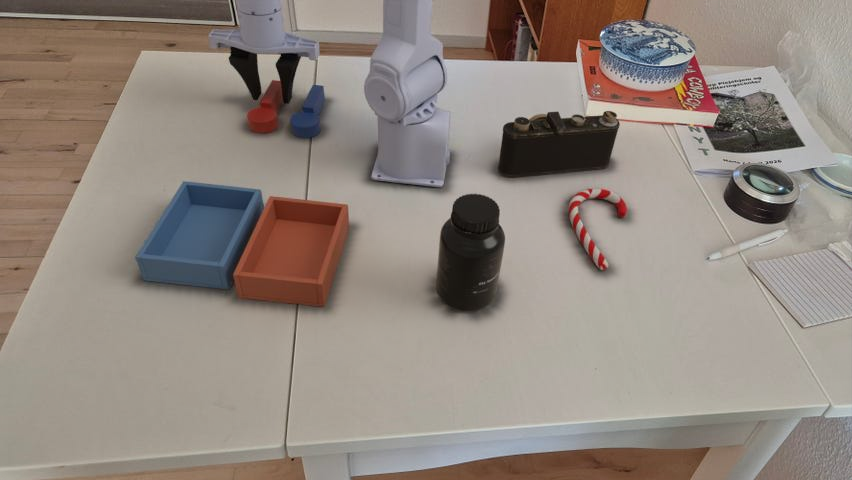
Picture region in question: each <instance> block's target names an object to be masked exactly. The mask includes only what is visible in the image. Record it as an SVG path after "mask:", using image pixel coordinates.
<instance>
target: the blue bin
mask: <svg viewBox="0 0 852 480" xmlns="http://www.w3.org/2000/svg"><path fill="white" fill-rule="evenodd" d="M264 207H265V205H264V199H263V193H262V189H260V188H259V189H258V188H250V187H241V186H232V185H224V184H215V183H205V182H195V181H186V180H183V181H182V183H181V184H180V185H179V187H178V188H177V190H176V192H175V194H174V195H173V196H172V198H171V200H170V201H169V202H168V204H167V206H166V208H165V209H164V211H163V212H162V214H161V215H160V217H159V219H158V220H157V222H156V224H155V225H154V226H153V228H152V229H151V231H150V233H149V234H148V236H147V237H146V239H145V240H144V242H143V243H142V245H141V246H140V248H139V250H138V251H137V253H136V255H135V256H134V258H135V261H136V263H137V266H138V269H139V272H140V274H141V278H142V279H143V281H144V282H154V283H155V282H156V283H166V284H175V285H183V286H194V287H203V288H212V289H219V290H220V289H222V290H230V289H231V287H232V285H233V282H234V276H233V274H234V272H235V270H236V267H237V265H238V263H239V261H240V259H241V257H242V255H243V252H244V250H245V248H246V246H247V244H248V242H249V240H250V237H251V235H252V233H253V231H254V229H255V227H256V225H257V222H258V220H259V218H260V216H261V214H262V212H263V210H264Z"/></svg>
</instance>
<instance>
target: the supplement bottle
mask: <svg viewBox="0 0 852 480" xmlns="http://www.w3.org/2000/svg"><path fill="white" fill-rule="evenodd" d="M500 211H501V210H500V206H499V205H498V202H496V200H494V199H493V198H491V197H489V196H487V195H485V194H481V193H467V194H463V195H461V196H458V198H456V199H455V200H454V201H453V204H452V208H451V213H450V217H449V218H448V219H447V220H446V221H445V222H444V224H442V227H441V229H440V233H439V242H438V243H439V244H438V255H437V256H438V258H437V268H436V281H435V289H436V292H437V296H438V297H439V299H440V300H441V301H442V302H443V303H444V304H445V305H447V306H448V307H450V308H452V309H454V310H457V311H462V312H475V311H479V310H481V309H484V308H486V307H488V306H489V305H490V304H491V303H492V302H493V301H494V299H495V298H496V295H497V290H498V286H499V280H500V273H501V268H502V262H503V257H504V250H505V244H506V235H505V232H504V229H503V227H502V226H501V225H500V215H501V213H500Z"/></svg>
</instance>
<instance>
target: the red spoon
mask: <svg viewBox="0 0 852 480" xmlns="http://www.w3.org/2000/svg"><path fill="white" fill-rule="evenodd" d="M282 103H283V99H282V88H281V82H280V80H276V79H272V80H271V81H270V83H269V85H268V87H267V88H266V90H265V92H264V94H263V95H262V97H261V99H260V101H259V107H255V108H252V109H250V110H248V112H247V114H246V118H247V123H248V128H249V129H250V131H252V132H254V133H257V134H268V133H272V132H274V131H275V130H277V129H278V127H279V120H278V119H279V118H278V111H279V109H280V106H281V105H282Z"/></svg>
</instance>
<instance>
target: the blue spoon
mask: <svg viewBox="0 0 852 480" xmlns="http://www.w3.org/2000/svg"><path fill="white" fill-rule="evenodd" d="M325 102H326V99H325V86H324V85H321V84H312V86H311V87H310V90H309V92H308V93H307V97H306V98H305V100H304V101H303V105H302V106H301V109H302V111H300V112H297V113H294V114H292V116H290V119H289V122H290V123H289V124H290V131H291V133H292V134H293V135H294V136H295V137H298V138H301V139H311V138H314V137H316V136H318V135H319V134H320V133H321V120H320V117H319V115H320V112H321V110H322V108H323V106H324V104H325Z"/></svg>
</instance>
